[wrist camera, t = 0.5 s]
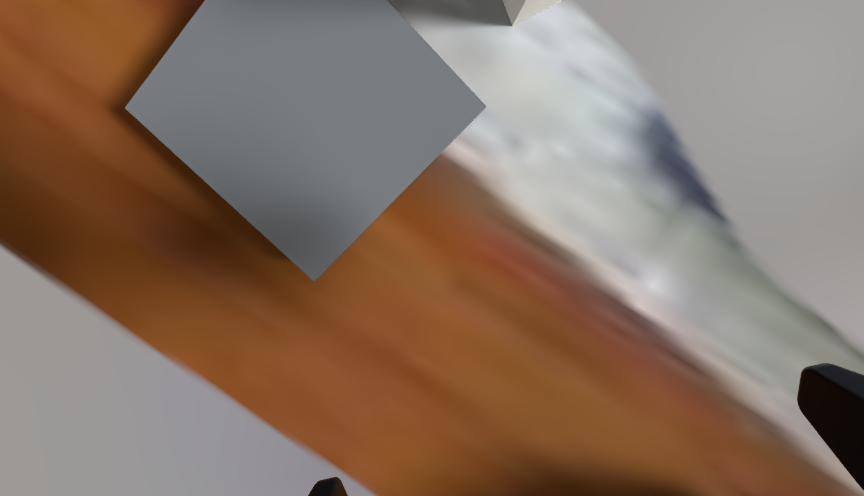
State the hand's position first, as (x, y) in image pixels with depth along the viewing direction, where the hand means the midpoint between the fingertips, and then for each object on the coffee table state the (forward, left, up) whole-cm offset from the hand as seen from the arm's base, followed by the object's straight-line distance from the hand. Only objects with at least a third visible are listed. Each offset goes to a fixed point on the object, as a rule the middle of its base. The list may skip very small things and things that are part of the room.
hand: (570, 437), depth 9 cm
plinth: (+9, -5, -13) cm, 17 cm away
